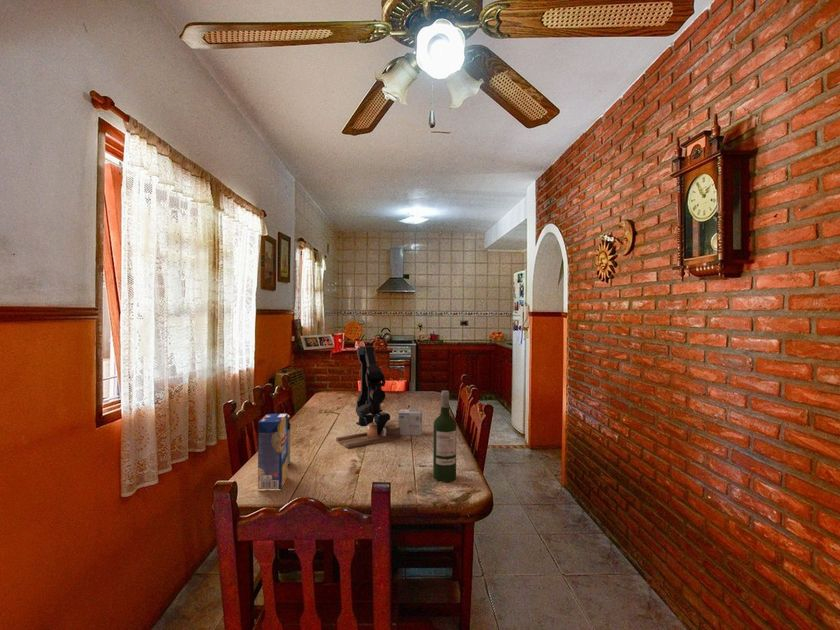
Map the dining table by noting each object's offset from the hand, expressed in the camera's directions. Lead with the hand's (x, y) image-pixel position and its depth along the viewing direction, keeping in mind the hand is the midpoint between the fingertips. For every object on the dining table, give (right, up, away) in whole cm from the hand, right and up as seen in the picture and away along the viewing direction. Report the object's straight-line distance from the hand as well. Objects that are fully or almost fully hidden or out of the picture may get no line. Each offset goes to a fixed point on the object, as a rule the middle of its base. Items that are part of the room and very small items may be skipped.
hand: (374, 432), depth 190 cm
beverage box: (-28, -3, -50) cm, 58 cm away
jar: (0, -2, 0) cm, 2 cm away
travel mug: (-32, -3, -32) cm, 46 cm away
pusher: (+3, -3, +2) cm, 4 cm away
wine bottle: (+29, -3, -44) cm, 53 cm away
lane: (-2, -3, -2) cm, 4 cm away
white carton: (+16, -3, +9) cm, 19 cm away
